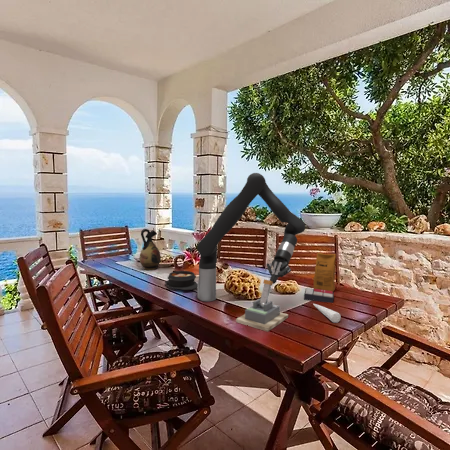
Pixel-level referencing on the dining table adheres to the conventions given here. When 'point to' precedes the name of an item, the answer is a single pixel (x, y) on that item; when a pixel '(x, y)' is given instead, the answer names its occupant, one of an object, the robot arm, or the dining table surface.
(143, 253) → the ceramic jug
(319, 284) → the coffee package
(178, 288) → the casserole
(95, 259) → the dining table surface
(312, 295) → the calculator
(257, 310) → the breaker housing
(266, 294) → the lever
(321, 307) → the unicorn horn
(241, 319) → the mounting board
